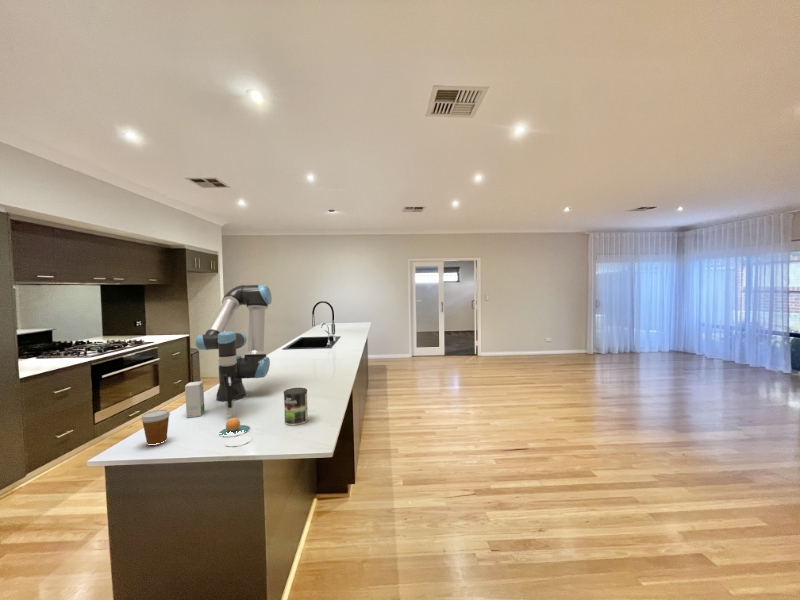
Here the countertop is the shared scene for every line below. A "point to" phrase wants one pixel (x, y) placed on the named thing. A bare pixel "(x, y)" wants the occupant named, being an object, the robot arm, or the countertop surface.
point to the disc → (241, 427)
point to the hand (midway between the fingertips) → (229, 413)
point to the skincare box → (194, 399)
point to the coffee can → (295, 406)
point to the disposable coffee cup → (155, 426)
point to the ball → (232, 424)
